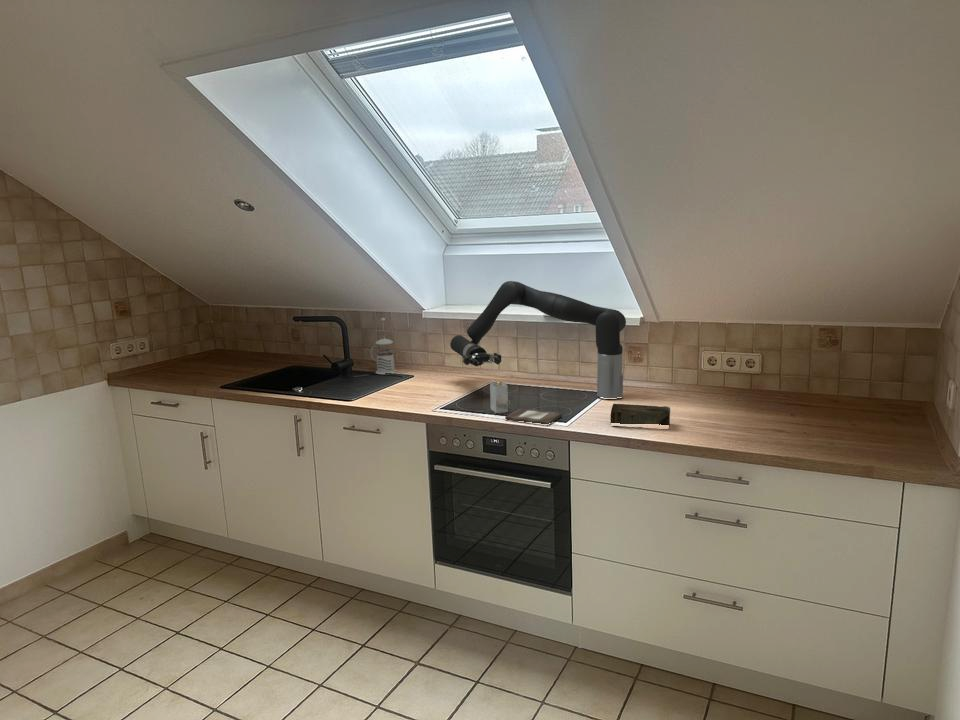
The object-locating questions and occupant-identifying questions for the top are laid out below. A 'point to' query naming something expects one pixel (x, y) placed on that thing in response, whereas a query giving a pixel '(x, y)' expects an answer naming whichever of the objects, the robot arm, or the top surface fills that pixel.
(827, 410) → the top surface
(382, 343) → the french press
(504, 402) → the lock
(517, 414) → the mount plate
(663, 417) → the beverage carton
